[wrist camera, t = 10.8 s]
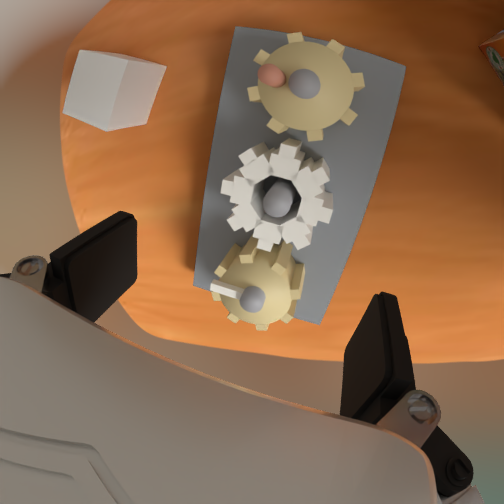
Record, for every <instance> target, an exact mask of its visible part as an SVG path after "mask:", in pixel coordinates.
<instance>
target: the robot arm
mask: <svg viewBox="0 0 504 504" xmlns="http://www.w3.org/2000/svg"><path fill="white" fill-rule="evenodd" d="M50 259H51V262H50V263H49V264H47V261H46V259H45V258H43V257H41V256H34V255H33V256H28V257H25V258H23V259H21V260H19V261H18V262H17V263H16V264H15V266H14V267H13V270H12V273H8V274H0V504H485V503H484V501H483V499H482V497H481V495H480V493H479V491H478V489H477V487H476V485H475V486H473V487H472V486H471V481H472V479H473V467H472V464H471V461H470V460H469V459H468V457H467V456H466V455H465V454H464V453H463V452H462V451H461V450H460V449H459V448H458V447H457V446H456V445H455V444H454V442H452V440H450V438H449V437H448V436H447V435H446V434H445V433H444V432H443V431H442V430H441V429H440V428H439V427H438V426H437V425H438V423H439V421H440V418H441V410H440V407H439V405H438V403H437V401H436V400H435V399H434V398H433V396H431V395H430V394H428V393H427V392H425V391H422V390H416V387H415V380H414V374H413V367H412V361H411V355H410V350H409V345H408V340H407V337H406V336H405V333H404V328H403V323H402V318H401V314H400V309H399V305H398V301H397V297H396V296H395V295H392V294H389V293H385V292H381V293H380V294H379V295H378V294H375V295H374V296H373V298H372V300H371V302H370V304H369V306H368V308H367V310H366V312H365V313H364V315H363V317H362V319H361V321H360V323H359V325H358V327H357V328H356V330H355V332H354V334H353V336H352V337H351V339H350V341H349V343H348V344H347V346H346V349H345V352H344V367H343V382H342V396H341V407H340V415H337V414H333V413H329V412H325V411H321V410H317V409H313V408H310V407H306V406H303V405H299V404H296V403H292V402H289V401H285V400H282V399H279V398H275V397H272V396H269V395H265V394H262V393H259V392H256V391H253V390H250V389H247V388H244V387H241V386H238V385H235V384H232V383H230V382H227V381H224V380H221V379H218V378H216V377H213V376H211V375H208V374H205V373H202V372H200V371H198V370H195V369H193V368H190V367H187V366H185V365H182V364H180V363H178V362H175V361H173V360H170V359H168V358H166V357H164V356H162V355H159V354H157V353H155V352H153V351H150V350H148V349H146V348H144V347H142V346H140V345H137V344H135V343H133V342H131V341H129V340H127V339H125V338H123V337H121V336H119V335H117V334H115V333H113V332H111V331H109V330H107V329H105V328H103V327H101V326H99V325H97V324H95V323H94V322H95V321H96V320H97V319H98V318H99V317H100V316H101V315H102V314H103V313H104V312H105V311H106V310H107V309H108V308H109V307H110V306H111V305H112V304H113V303H114V302H115V301H116V300H117V299H118V298H119V297H120V296H121V295H122V294H123V293H124V292H125V291H127V290H128V289H129V288H130V287H131V286H132V285H133V284H134V283H135V281H136V279H137V220H136V219H135V218H134V215H133V214H130V213H127V212H123V211H119V212H117V213H115V214H113V215H112V216H110V217H108V218H106V219H105V220H103V221H101V222H100V223H98V224H96V225H95V226H93V227H91V228H90V229H88V230H86V231H85V232H83V233H82V234H80V235H78V236H77V237H75V238H74V239H72V240H70V241H69V242H67V243H66V244H64V245H63V246H61V247H60V248H58V249H56V250H55V251H53V252H52V253H51V254H50Z"/></svg>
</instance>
